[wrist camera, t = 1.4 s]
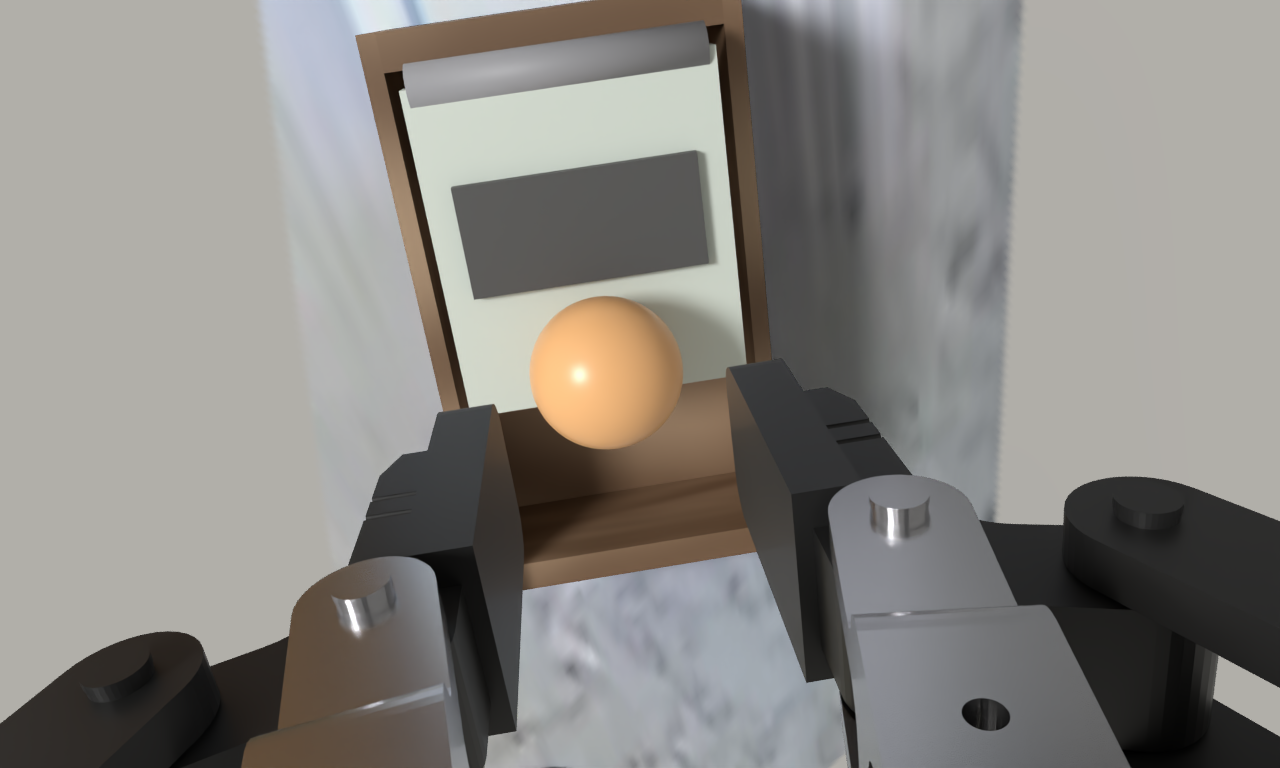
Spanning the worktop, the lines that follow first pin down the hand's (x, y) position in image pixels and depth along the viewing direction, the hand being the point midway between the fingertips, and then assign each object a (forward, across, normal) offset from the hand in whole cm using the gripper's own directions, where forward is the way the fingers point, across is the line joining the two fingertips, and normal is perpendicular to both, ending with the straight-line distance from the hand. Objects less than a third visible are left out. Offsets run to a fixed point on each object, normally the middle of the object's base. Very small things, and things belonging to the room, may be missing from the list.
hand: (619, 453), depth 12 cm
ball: (+12, 0, +4) cm, 12 cm away
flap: (+15, 0, 0) cm, 15 cm away
